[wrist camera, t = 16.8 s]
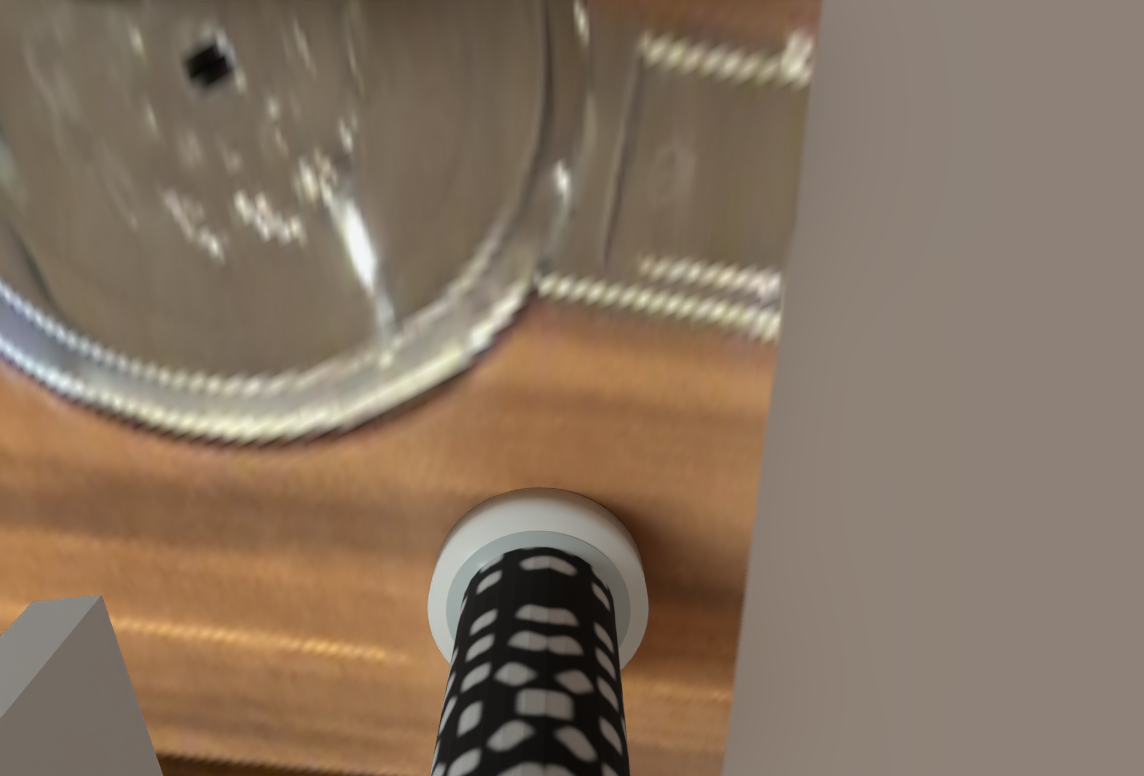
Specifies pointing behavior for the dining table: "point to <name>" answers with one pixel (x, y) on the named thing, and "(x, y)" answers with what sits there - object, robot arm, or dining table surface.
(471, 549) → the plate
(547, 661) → the spotted tube
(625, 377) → the dining table surface
